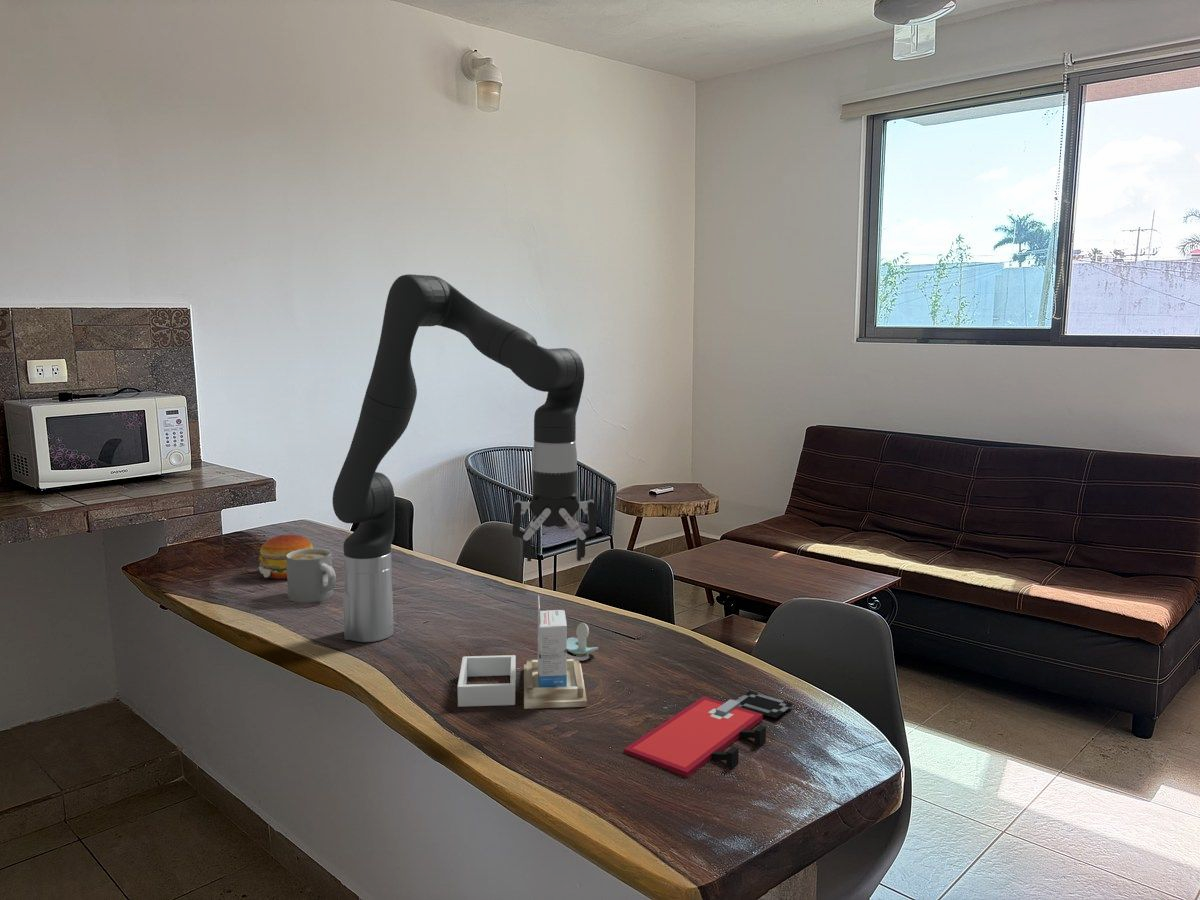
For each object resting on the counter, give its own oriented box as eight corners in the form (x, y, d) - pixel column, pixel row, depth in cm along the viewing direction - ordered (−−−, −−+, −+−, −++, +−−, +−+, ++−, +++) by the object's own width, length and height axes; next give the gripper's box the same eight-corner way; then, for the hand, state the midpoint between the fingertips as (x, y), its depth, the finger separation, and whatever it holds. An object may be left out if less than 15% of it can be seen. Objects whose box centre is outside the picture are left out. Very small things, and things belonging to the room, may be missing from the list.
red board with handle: (804, 711, 143) (725, 689, 152) (804, 695, 143) (725, 674, 152) (709, 789, 120) (624, 757, 129) (709, 771, 120) (623, 739, 129)
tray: (524, 708, 143) (523, 694, 143) (523, 669, 159) (523, 656, 159) (586, 706, 144) (587, 692, 144) (580, 668, 160) (580, 655, 160)
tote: (457, 706, 144) (457, 686, 143) (463, 674, 157) (462, 656, 156) (515, 704, 145) (514, 685, 144) (515, 673, 157) (515, 655, 157)
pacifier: (579, 666, 162) (602, 656, 166) (578, 634, 161) (602, 625, 165) (554, 655, 167) (577, 646, 171) (553, 624, 166) (576, 616, 170)
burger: (327, 572, 219) (325, 533, 217) (282, 585, 208) (280, 545, 206) (292, 563, 226) (290, 526, 225) (247, 576, 215) (244, 537, 213)
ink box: (567, 691, 147) (567, 609, 145) (538, 692, 147) (538, 609, 145) (564, 671, 156) (565, 593, 154) (537, 672, 155) (537, 593, 153)
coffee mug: (280, 595, 200) (278, 553, 199) (321, 586, 207) (319, 545, 206) (306, 609, 191) (304, 565, 189) (348, 599, 198) (346, 557, 196)
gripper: (512, 471, 141) (512, 566, 144) (598, 471, 142) (597, 565, 145) (512, 463, 149) (512, 554, 151) (594, 463, 150) (593, 553, 152)
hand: (554, 560), depth 148 cm, fingers open, 8 cm apart
